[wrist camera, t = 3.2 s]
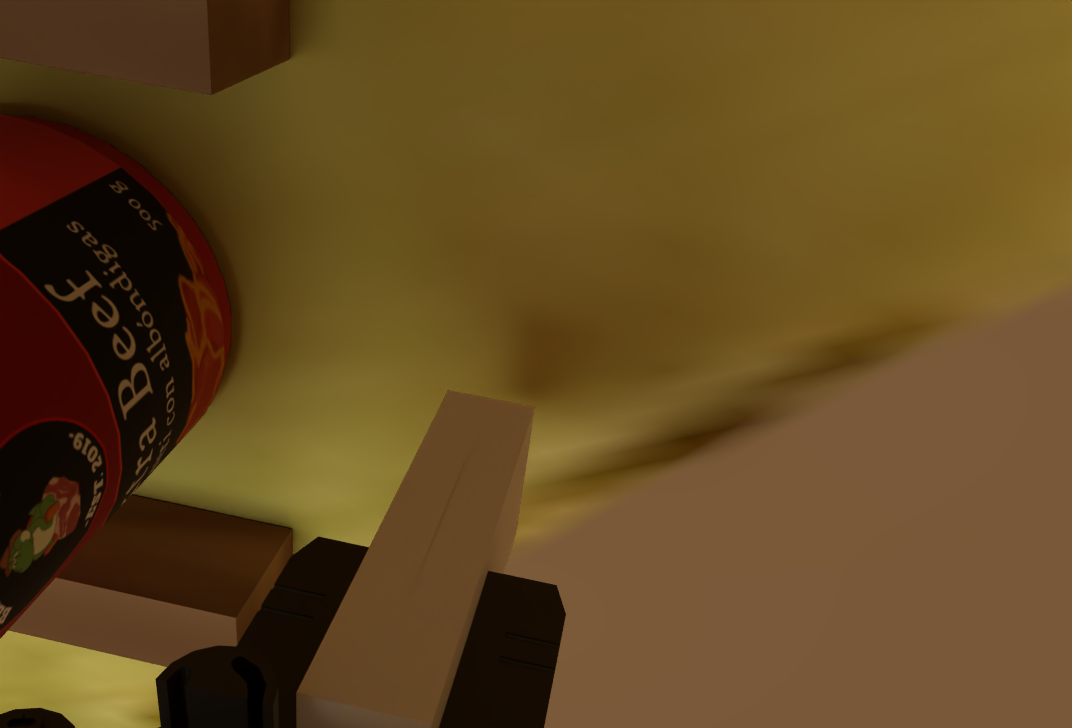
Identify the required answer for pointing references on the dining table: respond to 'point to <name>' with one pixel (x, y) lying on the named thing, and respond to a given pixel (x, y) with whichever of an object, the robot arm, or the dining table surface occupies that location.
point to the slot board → (140, 523)
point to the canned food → (91, 342)
